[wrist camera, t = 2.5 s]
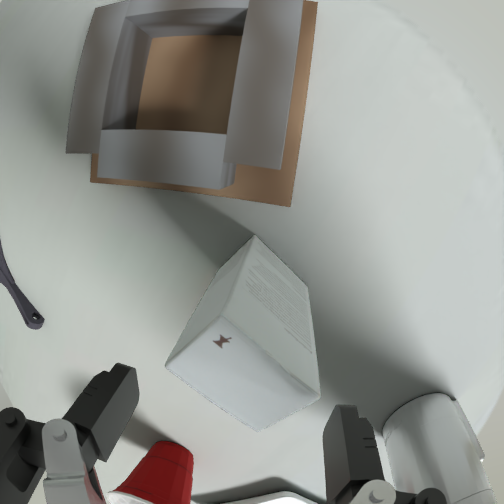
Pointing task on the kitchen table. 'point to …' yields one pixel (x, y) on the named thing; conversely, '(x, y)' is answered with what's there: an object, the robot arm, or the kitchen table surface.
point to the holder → (195, 95)
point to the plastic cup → (158, 478)
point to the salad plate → (276, 499)
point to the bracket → (19, 297)
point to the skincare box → (251, 340)
